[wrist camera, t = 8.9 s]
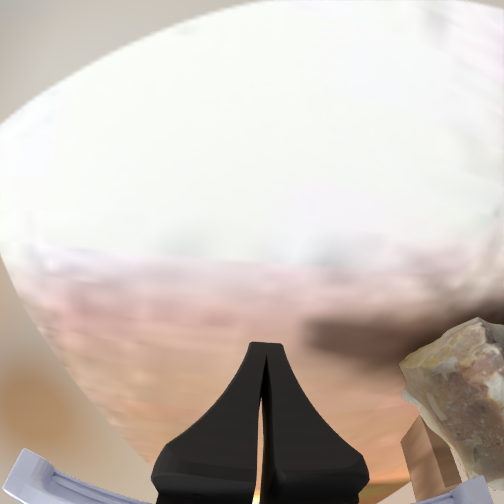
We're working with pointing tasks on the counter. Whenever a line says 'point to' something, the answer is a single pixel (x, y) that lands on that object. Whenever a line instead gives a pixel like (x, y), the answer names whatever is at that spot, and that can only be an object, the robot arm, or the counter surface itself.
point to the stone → (463, 395)
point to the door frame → (429, 462)
